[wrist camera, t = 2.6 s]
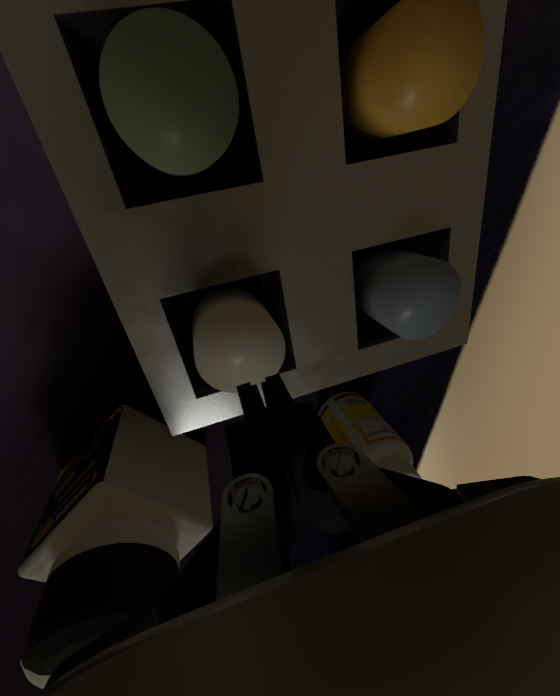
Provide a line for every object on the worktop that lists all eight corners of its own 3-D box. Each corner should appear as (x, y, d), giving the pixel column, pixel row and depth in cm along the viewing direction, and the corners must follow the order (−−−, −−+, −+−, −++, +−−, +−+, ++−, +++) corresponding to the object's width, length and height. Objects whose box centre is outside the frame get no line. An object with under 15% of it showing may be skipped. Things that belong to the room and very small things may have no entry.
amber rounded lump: (333, 33, 14) (381, -18, 11) (420, 21, 15) (492, -30, 12) (341, 147, 16) (384, 135, 13) (417, 132, 17) (477, 117, 14)
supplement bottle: (330, 442, 28) (382, 530, 21) (305, 411, 26) (353, 497, 19) (373, 412, 28) (441, 490, 21) (352, 378, 26) (419, 452, 18)
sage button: (102, 63, 13) (73, 16, 9) (210, 49, 14) (220, 0, 10) (143, 185, 15) (131, 183, 11) (235, 167, 16) (251, 160, 12)
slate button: (349, 256, 19) (386, 270, 16) (415, 240, 20) (464, 250, 16) (354, 323, 21) (387, 349, 18) (413, 306, 22) (457, 328, 18)
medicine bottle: (122, 400, 21) (66, 599, 11) (207, 444, 25) (225, 628, 14) (59, 471, 22) (-49, 716, 12) (148, 505, 26) (126, 718, 15)
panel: (9, 0, 13) (-55, -72, 9) (446, -42, 16) (519, -107, 12) (173, 398, 22) (172, 436, 19) (428, 322, 25) (467, 343, 22)
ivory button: (181, 298, 18) (181, 324, 14) (258, 279, 18) (277, 299, 15) (204, 366, 20) (209, 403, 16) (273, 346, 20) (291, 378, 17)
